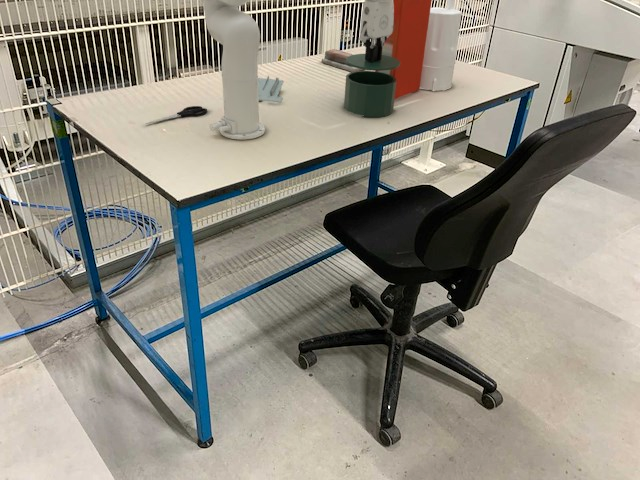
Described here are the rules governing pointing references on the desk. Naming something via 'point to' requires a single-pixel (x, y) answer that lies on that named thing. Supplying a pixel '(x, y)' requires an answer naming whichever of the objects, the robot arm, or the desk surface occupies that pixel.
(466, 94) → the desk surface
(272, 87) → the metal bracket
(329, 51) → the packaged product
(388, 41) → the file binder
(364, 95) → the pot
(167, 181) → the desk surface
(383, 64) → the lid
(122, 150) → the desk surface
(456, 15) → the white cylindrical canister
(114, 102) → the desk surface
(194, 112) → the scissors
